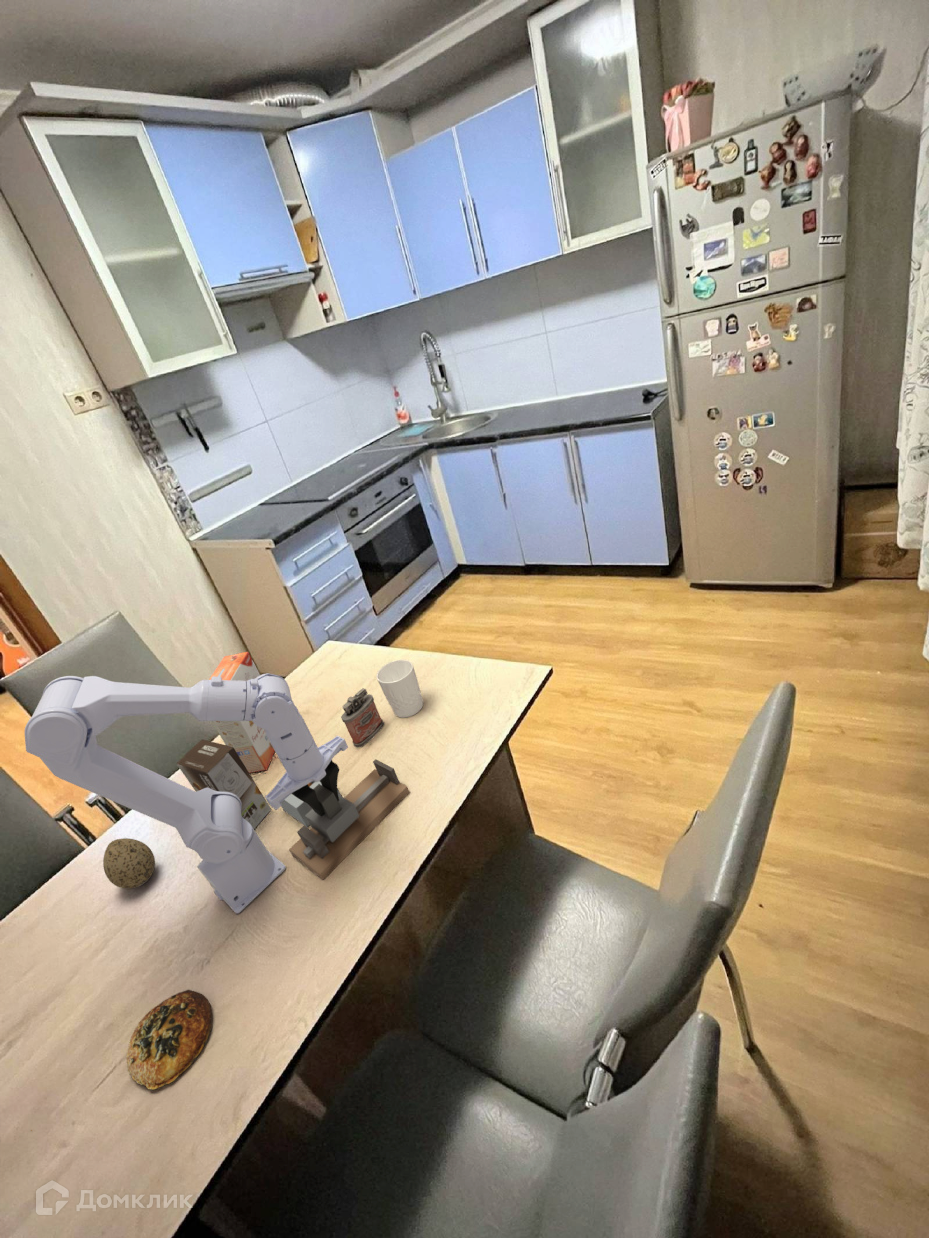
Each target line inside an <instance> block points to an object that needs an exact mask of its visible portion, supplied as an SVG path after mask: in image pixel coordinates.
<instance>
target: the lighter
mask: <svg viewBox="0 0 929 1238" xmlns="http://www.w3.org/2000/svg"><path fill="white" fill-rule="evenodd" d="M374 700H375V698H374V695H372V694H368V691H367V689H366V688H363V687H362V688H361V689H360V690H358V691H357V692H356V693H355V694H354V695H353V696H349V697H348V698H347V700H346V702H345V704H343V705H342V709H343V711H344V712H343V713H342V714H341V716H340V719H341V720H342V722H343V723H344V725H345V727H346V730H347V732H348V733H349V735H350V738H351V740H352V745H353V746H354V747H355V748H362V747H364V746H365V745H366V744H368V743H369V742H370V741H371V740H373V738H375V737H376V736H377V735H378V733H379V732H381V730H382V729H383V727H384V725H385V722H384V719H382V717H381V715H380V712H379V709H378V708H377V706H376V704H375V701H374Z"/></svg>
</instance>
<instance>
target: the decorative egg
mask: <svg viewBox="0 0 929 1238" xmlns="http://www.w3.org/2000/svg"><path fill="white" fill-rule="evenodd" d="M102 862H103V871H104V873H105V874H104V875H105V876H106V878H107V879H108V881H109V882H110V883H111V884H112V885H114V886H116V887H118V888H121V889H126V890H127V889H131V890H132V889H135V888H138V887H141V886H142V885H144V884H145V883H146V882H148V880H150V878H151V877H152V874H153V873H154V871H155V867H156V859H155V855H154V852H153V851H152V849H151V848H150V847H149V845H147V844H146V843H144V842H142V841H141V840H137V839H134V838H126V837H124V838H117V839H114V840H112V841H111V842H109V843H108V845H107V847H106V848H105V851H104V854H103V860H102Z"/></svg>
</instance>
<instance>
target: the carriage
mask: <svg viewBox="0 0 929 1238" xmlns="http://www.w3.org/2000/svg"><path fill="white" fill-rule="evenodd" d="M313 790H315V792H316V796H317V799H318V801H319V803H320V805H321V806H322V808H323V810H324V812H325V814H324V815H323V816H322V817H321V816H320V815H318V814H317V813H315V811H314V810H313V809H312V810H311V811H309V812H308V813H307V814H306V815H305V817H306V819H307V820H308V822H309V824H310V825H309V826H310V827H311V828H313V829H314V830H316V831H317V832H319V833H320V834H321V835H323V836H324V837H325V838H327V839H328V840H330V841H331V842H332V843H333V842H334V841H335V840H336V839H337V838H338V837H339V836H340V835H341V834H342V833H343V832H344V831H345V830H346V829H347V828H348V827H349V826H350V825H351V824H352V823H353V822H354V821H355V820H356V819H357V818H358V817H359V816H360V815H359V813H358V811H357V809H356V807H355V805H354V804H353V803H352V802H350V801H348V800H347V799H345V798H344V797H343V796H342V795H341V796H340V795H339V794H338V797H339V801H337V799H336V797H335V795H334V793H333V792H331V791H330V790H328V789H327V788H325V787H323V786H322V785H320V784H318V785H317V786H316V787H315V788H314V789H313Z"/></svg>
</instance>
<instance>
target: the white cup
mask: <svg viewBox="0 0 929 1238" xmlns="http://www.w3.org/2000/svg"><path fill="white" fill-rule="evenodd" d="M375 678H376V679H377V682H378V684H379V686H380V688H381V690H382V692H383V695H384V696H385V699H386V701H387V702H388V705H389V706H390V708H391V709H392V712H393V714H394V716H396V717H398V718H409V717H413V716H414V715H416V714H418V713H419V712H420V711H421V710H422V708H423V706H424V700H423V697H422V694H421V688H420V685H419V680H418V677H417V675H416V672H415V668H414V663H412V662H411V661H410V660H409V659H408V660H407V659H396V660H393V661H390V662H387V663H386V664H384V665H382V666H381V667H380V668H379V669H378V670H377V672H376V677H375Z"/></svg>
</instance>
